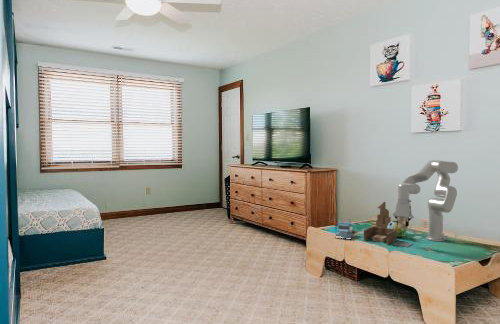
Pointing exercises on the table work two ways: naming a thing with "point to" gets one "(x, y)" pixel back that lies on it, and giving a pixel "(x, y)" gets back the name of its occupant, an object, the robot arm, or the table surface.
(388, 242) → the slot stand
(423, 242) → the table surface
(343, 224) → the truck
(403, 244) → the mat
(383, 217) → the wooden toy
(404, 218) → the maple block
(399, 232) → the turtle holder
